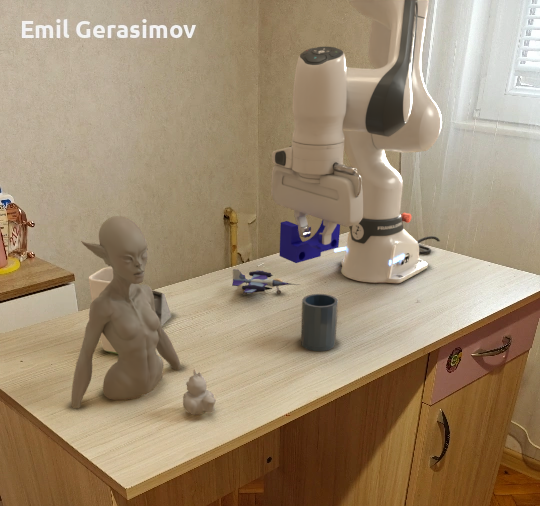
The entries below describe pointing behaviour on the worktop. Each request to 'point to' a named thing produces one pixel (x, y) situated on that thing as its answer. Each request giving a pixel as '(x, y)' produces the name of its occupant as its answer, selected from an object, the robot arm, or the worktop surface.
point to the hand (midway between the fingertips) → (314, 239)
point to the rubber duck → (198, 396)
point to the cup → (97, 285)
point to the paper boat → (161, 307)
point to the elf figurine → (124, 319)
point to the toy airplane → (257, 281)
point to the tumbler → (319, 322)
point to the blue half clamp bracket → (304, 243)
